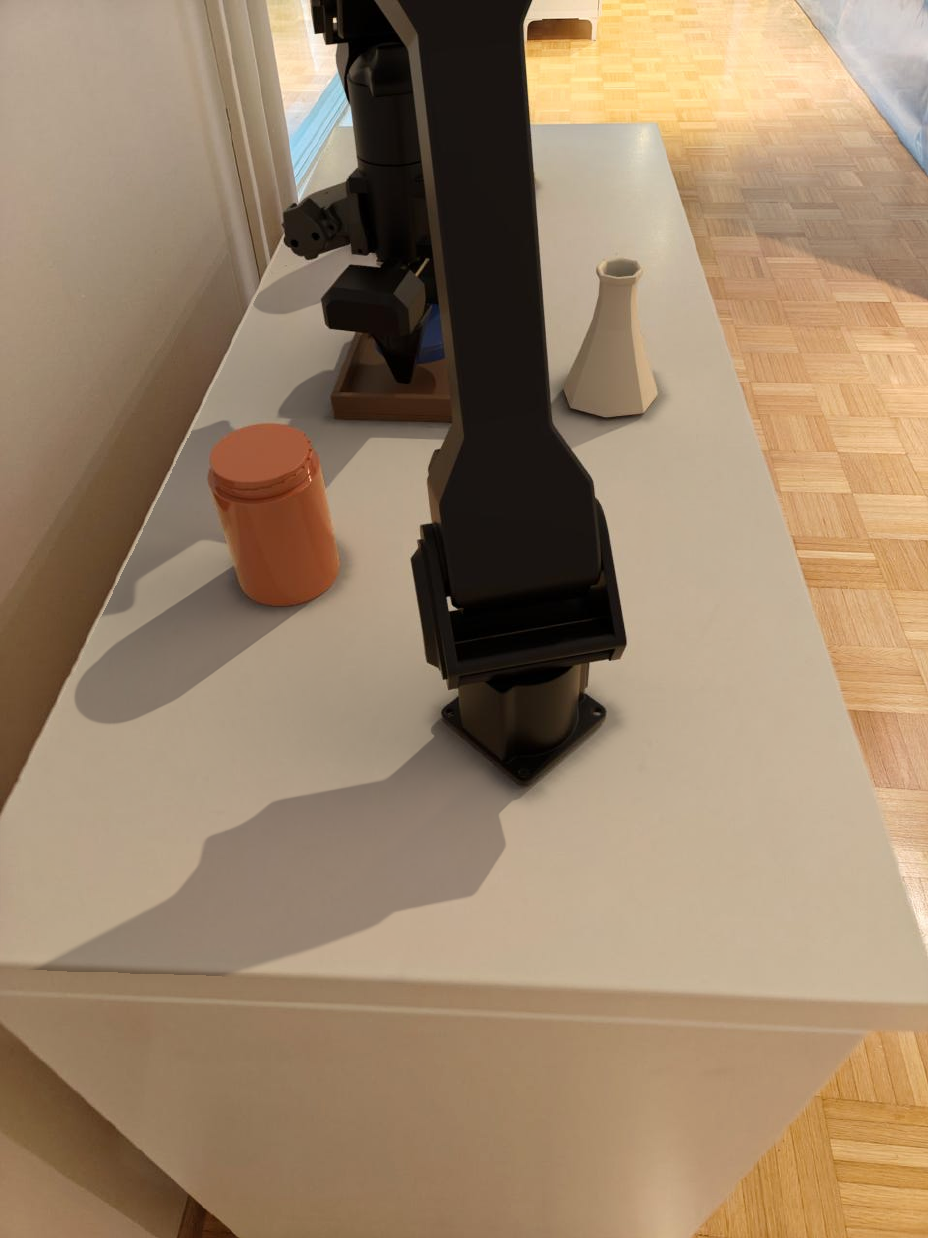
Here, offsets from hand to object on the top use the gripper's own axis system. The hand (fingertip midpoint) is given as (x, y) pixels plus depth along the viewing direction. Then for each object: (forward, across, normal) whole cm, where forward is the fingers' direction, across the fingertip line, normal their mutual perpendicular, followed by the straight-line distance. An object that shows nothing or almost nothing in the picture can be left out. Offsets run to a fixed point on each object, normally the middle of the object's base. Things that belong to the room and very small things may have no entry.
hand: (418, 359), depth 72 cm
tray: (+1, 0, 0) cm, 1 cm away
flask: (+2, 0, +15) cm, 15 cm away
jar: (+1, +24, -1) cm, 24 cm away
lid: (-3, 0, 0) cm, 3 cm away
